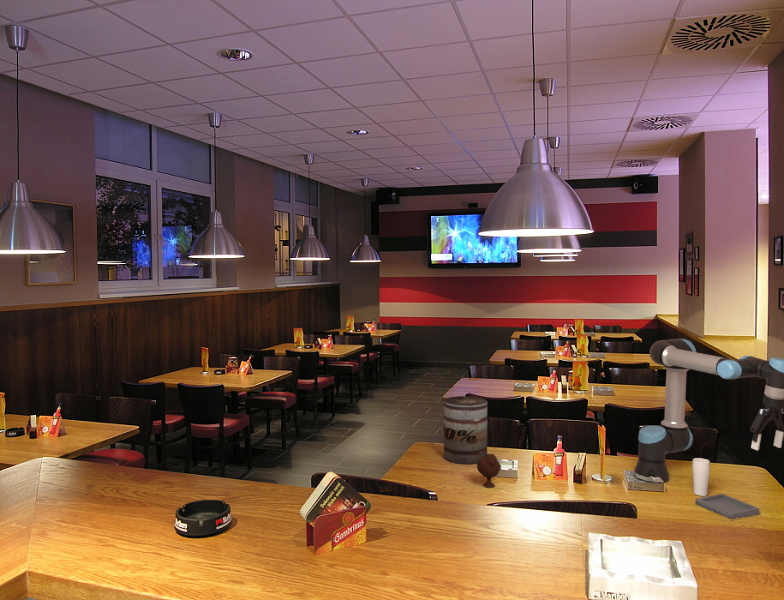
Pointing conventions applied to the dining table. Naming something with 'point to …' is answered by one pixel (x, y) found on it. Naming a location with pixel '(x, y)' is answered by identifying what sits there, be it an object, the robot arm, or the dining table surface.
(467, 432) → the barrel
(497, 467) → the ice cream bowl
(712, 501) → the serving tray
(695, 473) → the drinking glass
